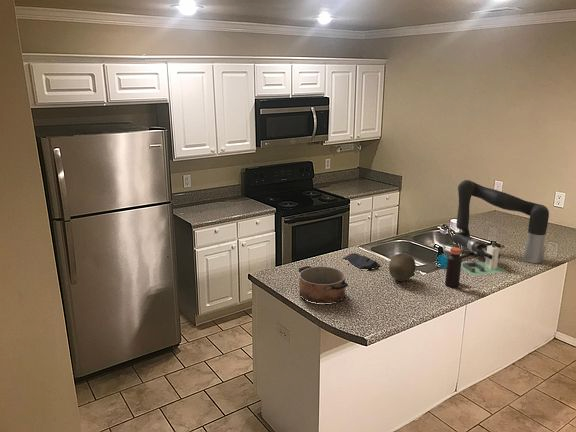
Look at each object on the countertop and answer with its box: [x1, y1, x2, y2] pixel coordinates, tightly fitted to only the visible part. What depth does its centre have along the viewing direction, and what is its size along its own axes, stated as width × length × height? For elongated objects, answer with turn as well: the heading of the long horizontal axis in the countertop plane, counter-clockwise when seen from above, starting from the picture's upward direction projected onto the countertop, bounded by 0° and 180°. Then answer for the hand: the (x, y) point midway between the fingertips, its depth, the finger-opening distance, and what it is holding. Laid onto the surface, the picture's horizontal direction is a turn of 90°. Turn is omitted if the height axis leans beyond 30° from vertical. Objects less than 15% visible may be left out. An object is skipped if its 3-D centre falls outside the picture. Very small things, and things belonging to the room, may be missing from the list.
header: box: [462, 261, 484, 272], centre depth 254 cm, size 8×11×2 cm
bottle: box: [444, 246, 463, 289], centre depth 232 cm, size 7×7×20 cm
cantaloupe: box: [388, 252, 417, 282], centre depth 239 cm, size 14×14×15 cm
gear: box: [437, 253, 449, 270], centre depth 257 cm, size 11×6×10 cm
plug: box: [484, 241, 500, 270], centre depth 253 cm, size 4×6×15 cm, turn 12°
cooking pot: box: [298, 265, 349, 303], centre depth 223 cm, size 30×22×11 cm
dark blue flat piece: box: [342, 253, 381, 269], centre depth 264 cm, size 15×22×5 cm
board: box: [461, 261, 508, 276], centre depth 254 cm, size 22×16×1 cm
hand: (495, 257), depth 251 cm, fingers closed on plug, 4 cm apart
